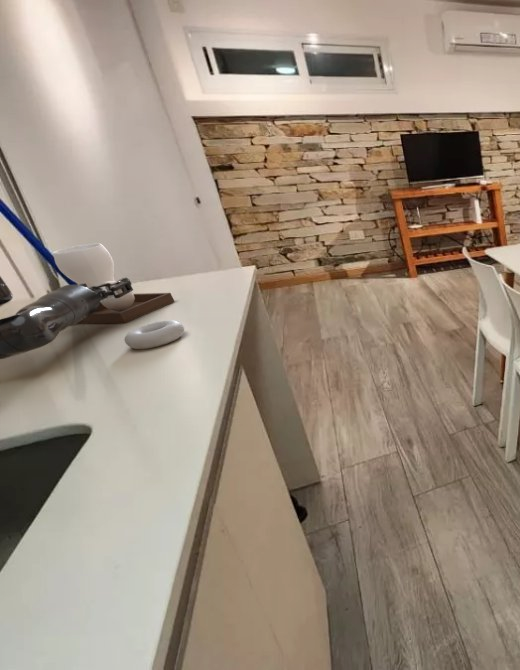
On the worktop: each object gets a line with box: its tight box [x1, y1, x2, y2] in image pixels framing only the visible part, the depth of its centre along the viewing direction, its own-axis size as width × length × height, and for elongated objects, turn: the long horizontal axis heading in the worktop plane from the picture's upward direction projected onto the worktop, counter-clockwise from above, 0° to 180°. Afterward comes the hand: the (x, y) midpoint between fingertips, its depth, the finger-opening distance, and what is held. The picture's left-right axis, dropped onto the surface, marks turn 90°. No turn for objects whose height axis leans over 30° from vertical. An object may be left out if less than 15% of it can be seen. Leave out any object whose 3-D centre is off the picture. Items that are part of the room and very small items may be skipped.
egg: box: [101, 280, 135, 311], centre depth 121 cm, size 6×6×8 cm
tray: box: [75, 292, 176, 325], centre depth 122 cm, size 16×14×3 cm
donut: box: [124, 319, 185, 350], centre depth 103 cm, size 10×3×10 cm
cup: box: [52, 242, 116, 286], centre depth 129 cm, size 11×11×15 cm
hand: (106, 284), depth 118 cm, fingers open, 8 cm apart
